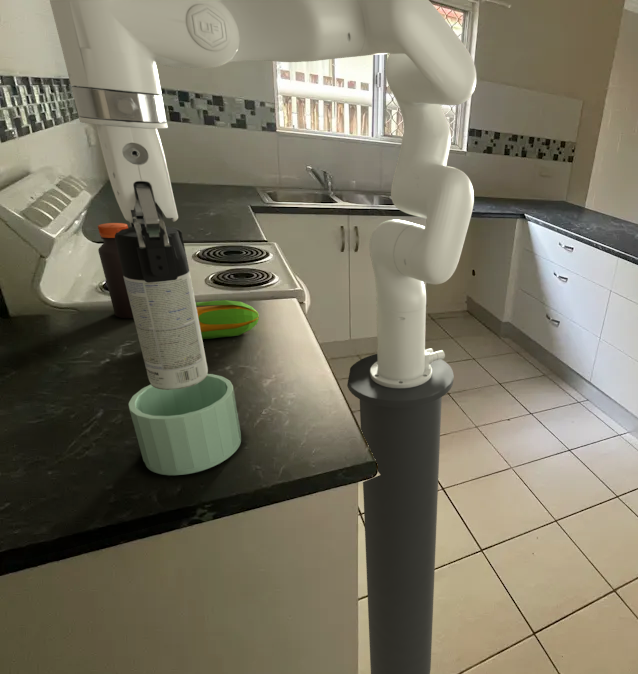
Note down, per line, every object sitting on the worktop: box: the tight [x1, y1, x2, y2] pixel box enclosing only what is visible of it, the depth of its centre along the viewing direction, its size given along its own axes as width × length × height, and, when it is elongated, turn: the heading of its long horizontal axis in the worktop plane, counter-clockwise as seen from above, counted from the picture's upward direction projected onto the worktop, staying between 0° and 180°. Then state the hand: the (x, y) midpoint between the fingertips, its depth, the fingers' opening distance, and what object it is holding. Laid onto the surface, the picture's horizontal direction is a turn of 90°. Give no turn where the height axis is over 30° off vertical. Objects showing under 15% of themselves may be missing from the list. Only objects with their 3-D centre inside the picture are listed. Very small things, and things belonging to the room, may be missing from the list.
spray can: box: [115, 225, 209, 390], centre depth 60 cm, size 7×7×20 cm
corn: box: [195, 299, 260, 340], centre depth 99 cm, size 7×8×20 cm
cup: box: [127, 373, 242, 476], centre depth 66 cm, size 12×12×9 cm
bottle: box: [97, 222, 134, 319], centre depth 104 cm, size 7×7×20 cm
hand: (157, 270), depth 58 cm, fingers closed on spray can, 6 cm apart
